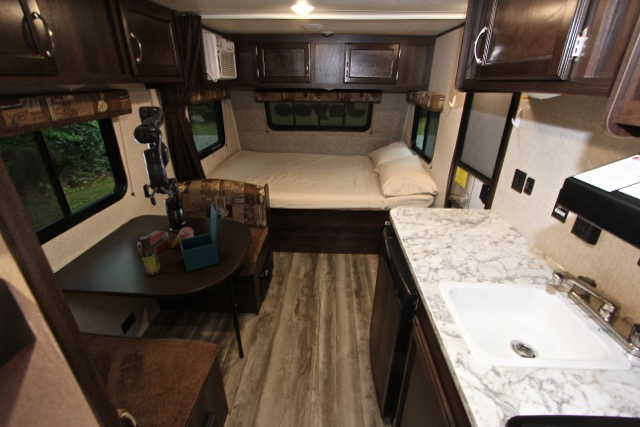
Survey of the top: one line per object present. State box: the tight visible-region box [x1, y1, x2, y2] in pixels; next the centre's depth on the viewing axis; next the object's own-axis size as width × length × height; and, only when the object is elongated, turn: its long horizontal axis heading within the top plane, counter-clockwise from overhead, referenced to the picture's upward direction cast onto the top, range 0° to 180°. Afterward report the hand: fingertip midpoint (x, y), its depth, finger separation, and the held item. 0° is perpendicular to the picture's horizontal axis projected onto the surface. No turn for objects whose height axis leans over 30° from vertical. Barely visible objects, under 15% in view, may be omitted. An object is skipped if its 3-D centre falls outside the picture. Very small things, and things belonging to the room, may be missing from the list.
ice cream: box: [170, 226, 195, 249], centre depth 168 cm, size 11×10×15 cm
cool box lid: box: [209, 203, 226, 244], centre depth 150 cm, size 17×13×5 cm
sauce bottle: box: [139, 235, 161, 277], centre depth 140 cm, size 6×6×20 cm
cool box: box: [179, 232, 220, 273], centre depth 151 cm, size 16×13×12 cm
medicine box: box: [136, 230, 171, 257], centre depth 162 cm, size 15×8×8 cm, turn 172°
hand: (164, 204), depth 139 cm, fingers open, 8 cm apart
